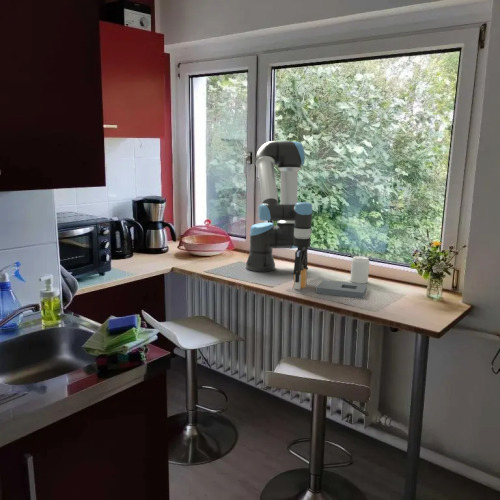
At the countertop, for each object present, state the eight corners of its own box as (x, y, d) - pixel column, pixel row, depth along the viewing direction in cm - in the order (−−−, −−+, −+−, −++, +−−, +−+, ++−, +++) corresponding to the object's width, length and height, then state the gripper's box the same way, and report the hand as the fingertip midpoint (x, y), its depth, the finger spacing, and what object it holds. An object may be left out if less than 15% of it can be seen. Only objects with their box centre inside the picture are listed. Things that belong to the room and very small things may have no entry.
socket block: (316, 292, 217) (316, 287, 217) (322, 284, 230) (322, 279, 229) (362, 298, 211) (363, 292, 210) (366, 289, 224) (367, 284, 223)
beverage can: (355, 284, 231) (356, 259, 229) (347, 280, 239) (348, 255, 237) (370, 284, 234) (372, 259, 231) (362, 279, 241) (364, 255, 239)
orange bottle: (293, 287, 225) (294, 265, 223) (295, 284, 229) (296, 263, 227) (304, 288, 224) (305, 266, 222) (306, 286, 227) (307, 264, 225)
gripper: (304, 242, 210) (302, 293, 215) (315, 234, 231) (313, 281, 235) (287, 240, 213) (285, 291, 217) (299, 232, 233) (297, 279, 238)
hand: (299, 286), depth 226 cm, fingers open, 9 cm apart
